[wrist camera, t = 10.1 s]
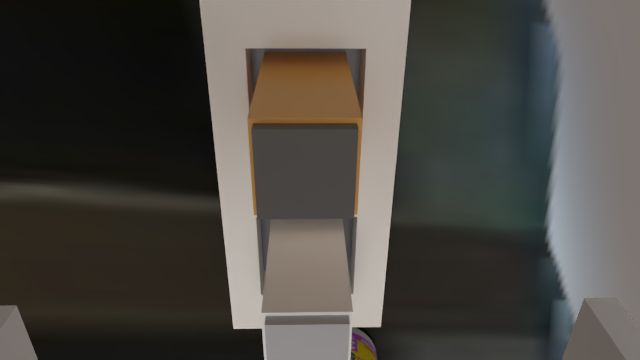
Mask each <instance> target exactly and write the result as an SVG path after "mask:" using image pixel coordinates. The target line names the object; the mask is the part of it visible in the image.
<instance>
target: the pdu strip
mask: <svg viewBox="0 0 640 360" xmlns="http://www.w3.org/2000/svg"><path fill="white" fill-rule="evenodd" d="M199 1H200V11H201V21H202V30H203V40H204V49H205V59H206V69H207V78H208V88H209V98H210V107H211V117H212V126H213V136H214V146H215V155H216V165H217V175H218V184H219V194H220V204H221V213H222V223H223V232H224V242H225V252H226V261H227V271H228V281H229V290H230V300H231V309H232V319H233V329H255V328H262V318H261V310H262V301H263V291H264V282H265V272H266V263H267V254H268V244H269V235H270V225H271V219H257V215H254V212H253V197H252V182H251V167H250V152H249V137H248V122H247V118H248V114H249V110H250V106H251V102H252V99H253V95H254V91H255V87H256V83H257V79H258V76H259V72H260V68H261V64H262V60H263V56H264V53H265V52H346V56H347V59H348V63H349V67H350V71H351V75H352V79H353V83H354V87H355V91H356V95H357V99H358V103H359V106H360V110H361V114H362V118H363V119H362V138H361V156H360V175H359V194H358V212H357V215H354V219H343V228H344V236H345V245H346V254H347V263H348V272H349V280H350V289H351V298H352V307H353V323H352V327H381V319H382V308H383V297H384V287H385V276H386V265H387V254H388V244H389V233H390V222H391V211H392V201H393V190H394V179H395V168H396V158H397V147H398V136H399V125H400V115H401V104H402V93H403V82H404V72H405V61H406V50H407V39H408V29H409V18H410V7H411V0H199Z"/></svg>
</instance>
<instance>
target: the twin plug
mask: <svg viewBox="0 0 640 360" xmlns="http://www.w3.org/2000/svg"><path fill="white" fill-rule="evenodd" d="M261 318H262V333H263V348H264V360H350V359H351V341H352V323H353V307H352V298H351V289H350V280H349V272H348V263H347V254H346V245H345V236H344V228H343V219H271V225H270V235H269V244H268V254H267V263H266V272H265V282H264V291H263V301H262V310H261Z"/></svg>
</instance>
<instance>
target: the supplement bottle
mask: <svg viewBox="0 0 640 360" xmlns="http://www.w3.org/2000/svg"><path fill="white" fill-rule="evenodd" d="M350 360H377V355H376V350H375V346H374V344H373V342H372V341H371V339H370V338H369V337H368V336H367V335H366V334H365V333H364V332H363V331H361V330H359V329H358V328H356V327H352V341H351V359H350Z"/></svg>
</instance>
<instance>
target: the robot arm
mask: <svg viewBox="0 0 640 360" xmlns="http://www.w3.org/2000/svg"><path fill="white" fill-rule="evenodd" d="M0 360H38V359H37V357H36V354H35V351H34V349H33V346H32V344H31V341H30V339H29V336H28V334H27V331H26V329H25V326H24V324H23V321H22V319H21V316H20V313H19V311H18V308H17V306H0ZM562 360H640V329H639V327H638V326H637V325H636V323H635V322H634V321H633V319H632V318H631V317H630V315H629V314H628V313H627V311H626V310H625V309H624V308H623V306H622V305H621V304H620V302H619V301H618V300H617V298H585V299H584V301H583V303H582V306H581V309H580V312H579V314H578V317H577V320H576V323H575V325H574V328H573V331H572V334H571V336H570V339H569V342H568V345H567V347H566V350H565V353H564V356H563V358H562Z"/></svg>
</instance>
